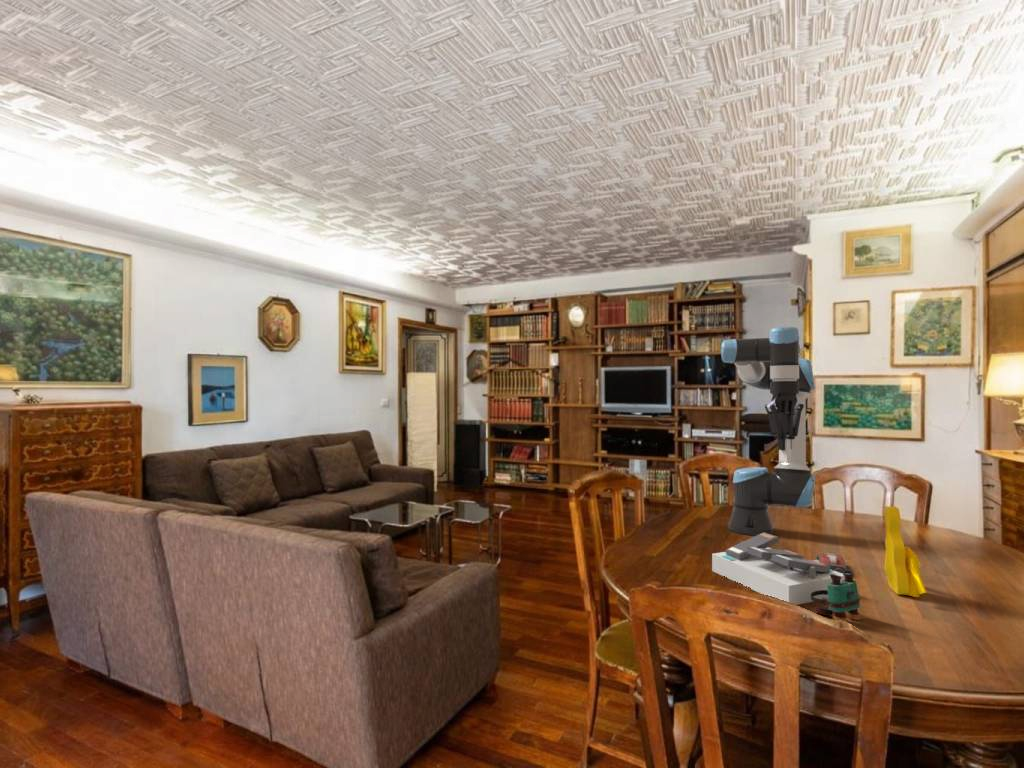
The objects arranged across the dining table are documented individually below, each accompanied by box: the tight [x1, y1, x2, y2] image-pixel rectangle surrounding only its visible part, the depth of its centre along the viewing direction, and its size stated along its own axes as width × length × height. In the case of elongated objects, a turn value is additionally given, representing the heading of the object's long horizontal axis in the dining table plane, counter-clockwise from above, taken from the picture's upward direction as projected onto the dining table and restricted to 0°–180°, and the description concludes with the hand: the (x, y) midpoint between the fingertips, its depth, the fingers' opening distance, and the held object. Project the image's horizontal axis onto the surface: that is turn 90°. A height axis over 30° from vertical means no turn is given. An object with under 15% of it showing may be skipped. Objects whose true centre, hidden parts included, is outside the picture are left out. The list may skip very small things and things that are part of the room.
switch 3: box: [771, 554, 831, 573], centre depth 133 cm, size 15×5×2 cm, turn 110°
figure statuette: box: [883, 506, 928, 598], centre depth 133 cm, size 18×8×22 cm, turn 160°
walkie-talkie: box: [813, 552, 848, 574], centre depth 149 cm, size 9×4×20 cm
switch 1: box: [724, 532, 780, 560], centre depth 148 cm, size 15×5×2 cm, turn 111°
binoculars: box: [811, 569, 861, 622], centre depth 120 cm, size 9×11×10 cm
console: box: [711, 540, 845, 606], centre depth 140 cm, size 20×26×8 cm
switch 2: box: [747, 547, 804, 559], centre depth 140 cm, size 15×5×2 cm, turn 110°
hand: (784, 461), depth 149 cm, fingers closed
